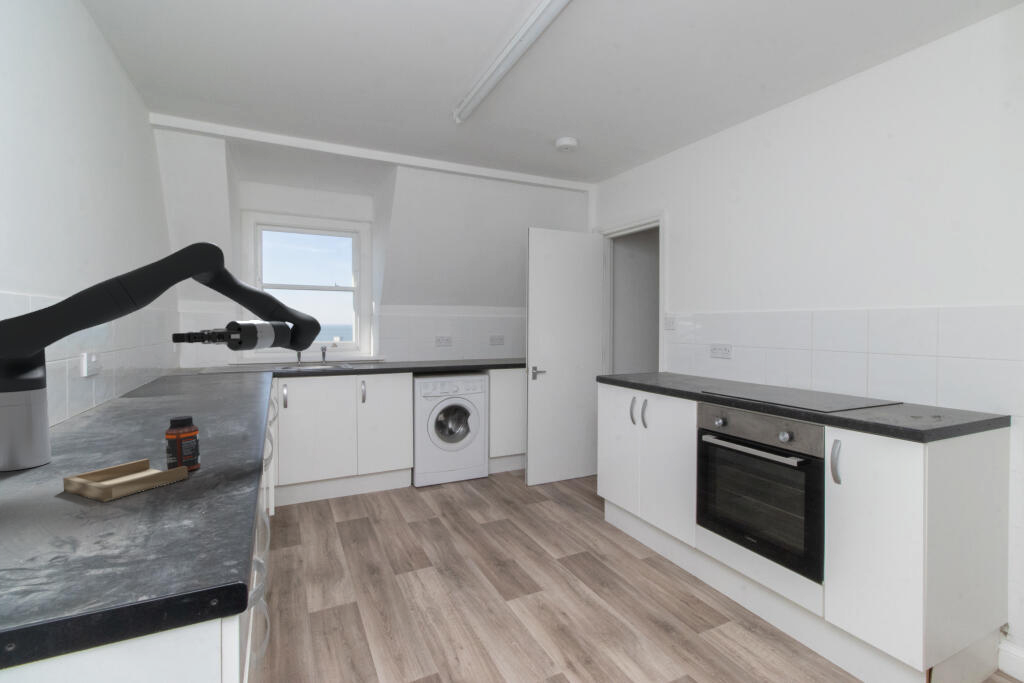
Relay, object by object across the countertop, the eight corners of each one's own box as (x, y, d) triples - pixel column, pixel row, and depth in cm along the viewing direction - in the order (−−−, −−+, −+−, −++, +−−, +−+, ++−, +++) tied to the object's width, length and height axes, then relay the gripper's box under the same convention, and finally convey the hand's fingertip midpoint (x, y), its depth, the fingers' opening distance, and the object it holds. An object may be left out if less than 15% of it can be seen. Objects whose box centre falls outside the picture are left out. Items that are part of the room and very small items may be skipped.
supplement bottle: (207, 465, 107) (204, 414, 107) (186, 474, 101) (183, 420, 101) (182, 465, 108) (179, 414, 108) (160, 474, 102) (157, 420, 102)
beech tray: (63, 490, 93) (63, 477, 93) (146, 470, 105) (146, 458, 105) (104, 502, 86) (103, 488, 86) (187, 478, 98) (187, 466, 98)
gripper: (231, 321, 129) (160, 322, 114) (267, 320, 122) (197, 320, 107) (233, 349, 129) (162, 354, 114) (269, 350, 123) (198, 355, 107)
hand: (179, 338), depth 111 cm, fingers open, 4 cm apart
